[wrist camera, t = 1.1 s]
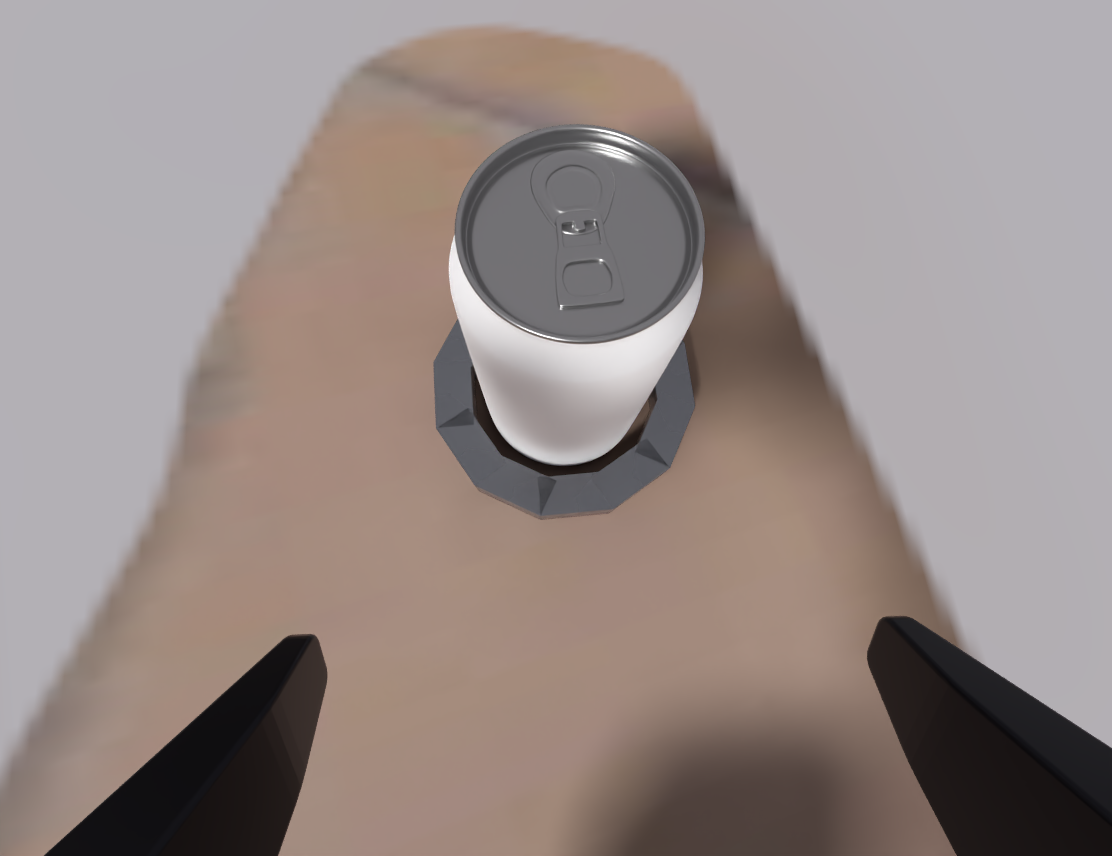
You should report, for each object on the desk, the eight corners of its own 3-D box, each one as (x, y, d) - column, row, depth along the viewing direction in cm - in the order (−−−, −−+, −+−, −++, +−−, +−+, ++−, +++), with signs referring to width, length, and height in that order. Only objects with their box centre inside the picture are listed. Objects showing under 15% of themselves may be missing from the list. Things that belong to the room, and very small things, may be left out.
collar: (700, 504, 23) (710, 500, 21) (446, 528, 22) (439, 525, 21) (663, 279, 25) (670, 261, 24) (436, 296, 25) (430, 279, 23)
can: (623, 321, 25) (694, 97, 13) (647, 459, 23) (753, 344, 11) (481, 335, 24) (425, 119, 13) (495, 477, 23) (445, 377, 11)
